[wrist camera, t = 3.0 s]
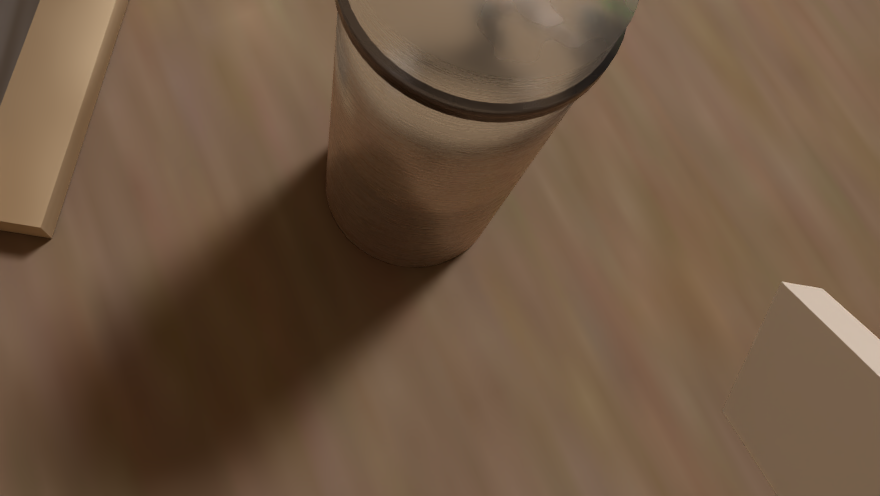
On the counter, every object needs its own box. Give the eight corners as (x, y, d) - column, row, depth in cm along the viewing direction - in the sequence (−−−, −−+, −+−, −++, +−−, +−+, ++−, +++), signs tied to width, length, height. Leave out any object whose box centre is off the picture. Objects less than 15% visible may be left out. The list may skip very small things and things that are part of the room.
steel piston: (504, 125, 26) (651, -139, 15) (489, 285, 24) (647, 114, 13) (337, 92, 26) (363, -214, 14) (306, 254, 23) (308, 44, 12)
